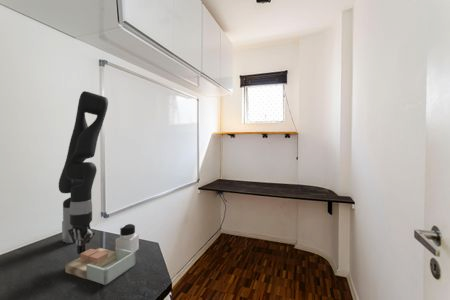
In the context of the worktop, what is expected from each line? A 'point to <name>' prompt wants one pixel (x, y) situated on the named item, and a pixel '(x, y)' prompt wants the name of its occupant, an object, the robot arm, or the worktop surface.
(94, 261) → the tile
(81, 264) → the wooden slab
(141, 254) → the worktop surface
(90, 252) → the tile
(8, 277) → the worktop surface
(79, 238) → the robot arm
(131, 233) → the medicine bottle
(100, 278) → the box
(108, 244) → the worktop surface
